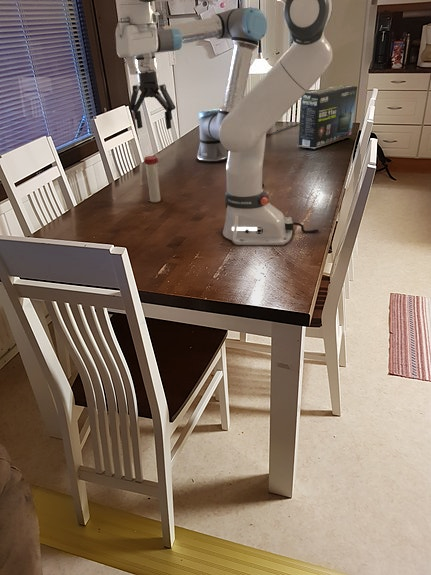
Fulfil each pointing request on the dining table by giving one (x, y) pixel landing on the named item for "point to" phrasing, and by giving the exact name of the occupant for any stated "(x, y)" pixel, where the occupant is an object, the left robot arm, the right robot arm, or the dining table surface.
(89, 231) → the dining table surface
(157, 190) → the white cylinder
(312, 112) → the router box
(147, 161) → the lid
